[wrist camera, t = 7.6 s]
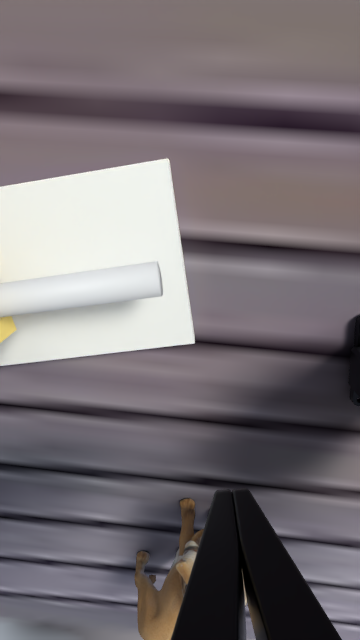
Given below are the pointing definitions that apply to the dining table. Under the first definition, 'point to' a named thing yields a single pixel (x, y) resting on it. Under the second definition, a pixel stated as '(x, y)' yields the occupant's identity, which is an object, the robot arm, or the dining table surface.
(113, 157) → the dining table surface
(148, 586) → the lion figurine
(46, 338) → the cord rail
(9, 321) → the yellow pegged block
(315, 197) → the dining table surface
